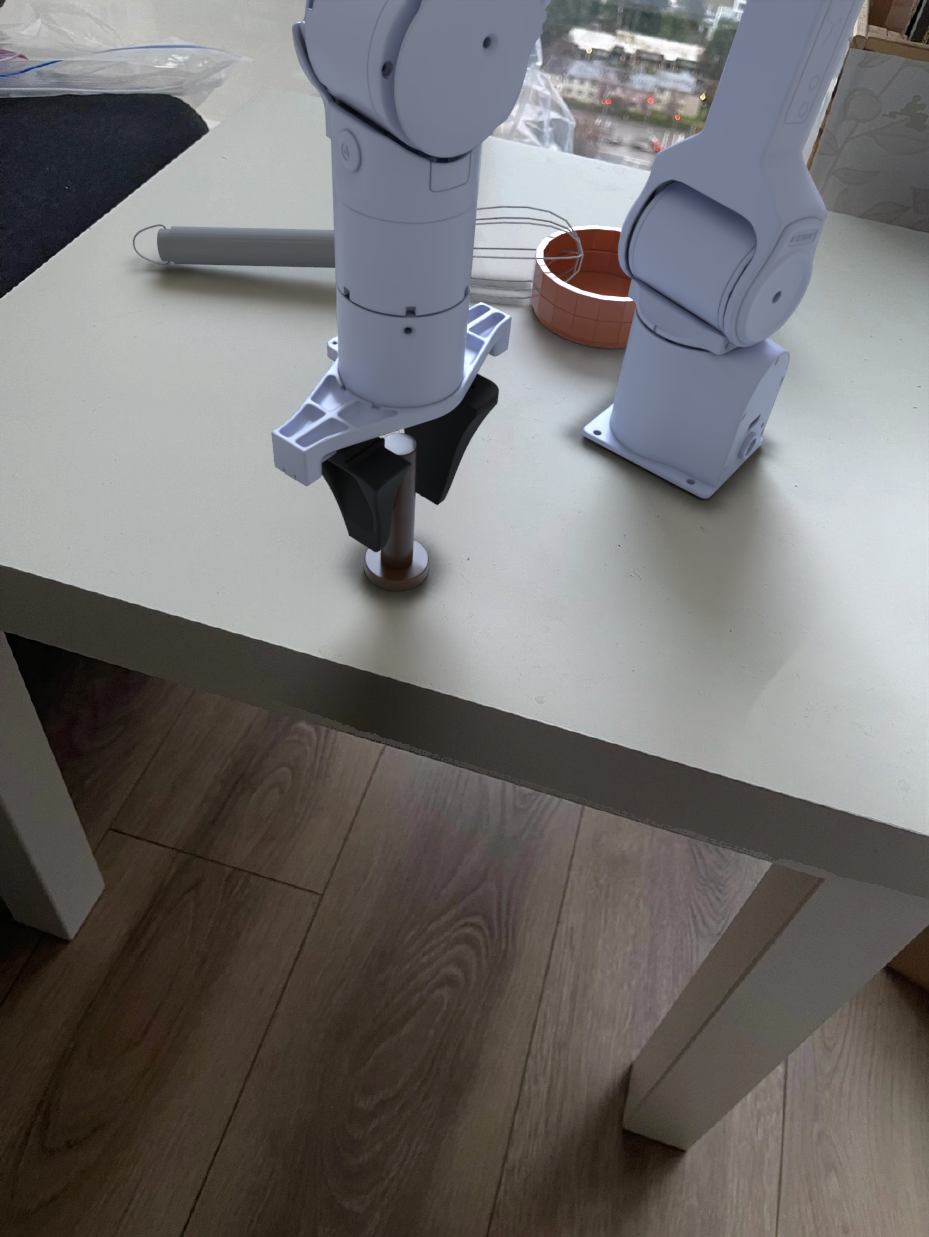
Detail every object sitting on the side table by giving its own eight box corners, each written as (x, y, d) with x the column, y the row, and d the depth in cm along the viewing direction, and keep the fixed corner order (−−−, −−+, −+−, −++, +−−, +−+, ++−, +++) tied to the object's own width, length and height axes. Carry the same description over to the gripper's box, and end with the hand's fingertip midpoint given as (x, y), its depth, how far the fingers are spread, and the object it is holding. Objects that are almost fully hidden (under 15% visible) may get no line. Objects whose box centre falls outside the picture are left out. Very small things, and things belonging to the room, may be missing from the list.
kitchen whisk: (145, 239, 74) (130, 157, 70) (574, 278, 76) (587, 200, 71) (124, 280, 70) (107, 196, 66) (577, 320, 72) (592, 240, 67)
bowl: (695, 310, 74) (708, 262, 71) (621, 368, 68) (632, 319, 65) (580, 259, 78) (588, 211, 75) (501, 310, 72) (506, 260, 69)
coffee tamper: (441, 566, 54) (450, 443, 47) (399, 601, 52) (403, 478, 45) (393, 536, 55) (396, 412, 48) (350, 569, 53) (347, 444, 46)
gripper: (439, 193, 46) (427, 422, 56) (207, 310, 38) (243, 551, 48) (559, 247, 43) (523, 476, 53) (337, 384, 35) (345, 622, 45)
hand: (397, 516), depth 50 cm, fingers open, 4 cm apart
